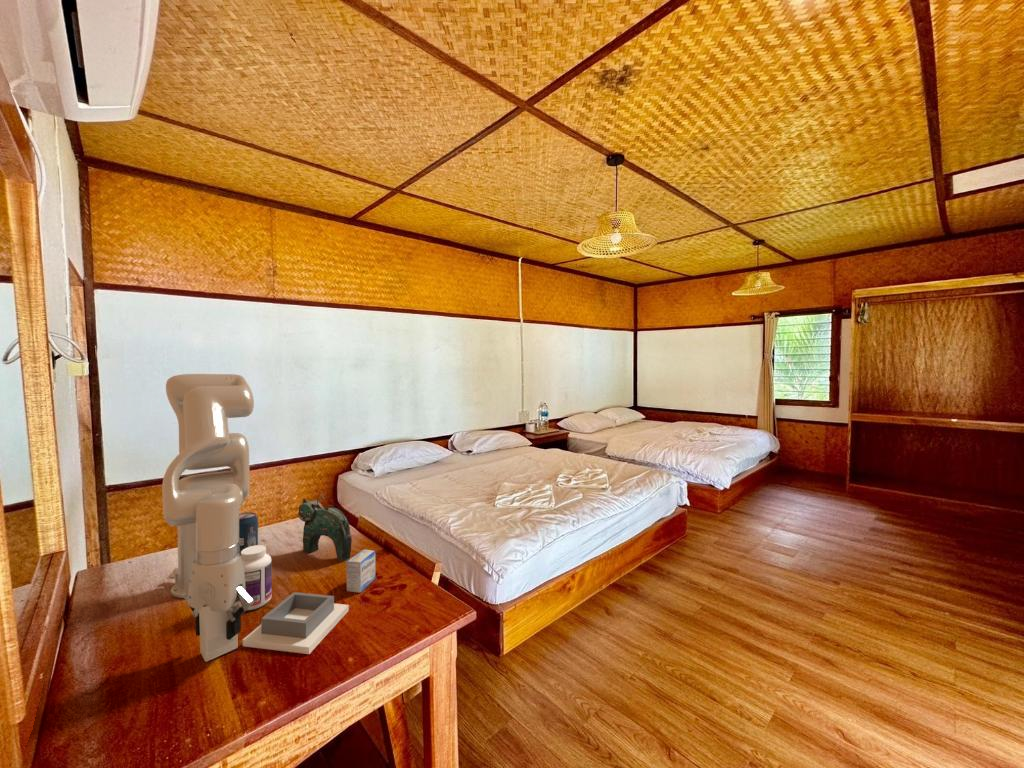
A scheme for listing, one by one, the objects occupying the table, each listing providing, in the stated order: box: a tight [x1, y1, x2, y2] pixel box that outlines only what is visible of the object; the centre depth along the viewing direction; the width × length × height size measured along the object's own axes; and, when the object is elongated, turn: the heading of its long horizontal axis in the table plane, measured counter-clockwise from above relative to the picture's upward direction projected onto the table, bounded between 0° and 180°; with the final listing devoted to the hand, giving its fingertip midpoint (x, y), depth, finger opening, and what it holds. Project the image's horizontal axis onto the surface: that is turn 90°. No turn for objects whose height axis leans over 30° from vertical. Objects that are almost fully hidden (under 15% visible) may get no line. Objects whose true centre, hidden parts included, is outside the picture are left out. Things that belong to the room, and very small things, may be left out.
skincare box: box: [199, 605, 239, 663], centre depth 87 cm, size 6×4×12 cm
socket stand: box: [242, 591, 350, 655], centre depth 96 cm, size 16×16×5 cm
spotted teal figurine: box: [298, 494, 353, 562], centre depth 134 cm, size 20×6×20 cm, turn 67°
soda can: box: [239, 512, 259, 555], centre depth 136 cm, size 7×7×12 cm
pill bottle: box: [240, 544, 273, 611], centre depth 105 cm, size 8×8×14 cm
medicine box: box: [346, 549, 376, 594], centre depth 115 cm, size 8×4×9 cm, turn 168°
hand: (218, 632), depth 87 cm, fingers closed on skincare box, 6 cm apart
